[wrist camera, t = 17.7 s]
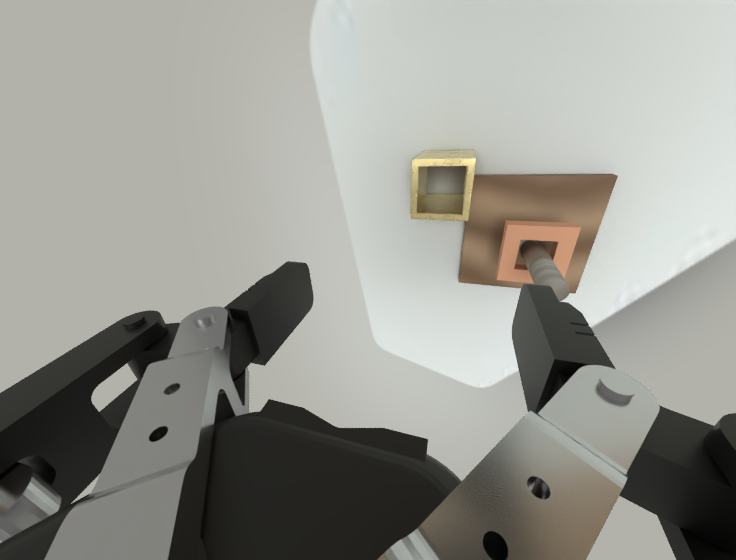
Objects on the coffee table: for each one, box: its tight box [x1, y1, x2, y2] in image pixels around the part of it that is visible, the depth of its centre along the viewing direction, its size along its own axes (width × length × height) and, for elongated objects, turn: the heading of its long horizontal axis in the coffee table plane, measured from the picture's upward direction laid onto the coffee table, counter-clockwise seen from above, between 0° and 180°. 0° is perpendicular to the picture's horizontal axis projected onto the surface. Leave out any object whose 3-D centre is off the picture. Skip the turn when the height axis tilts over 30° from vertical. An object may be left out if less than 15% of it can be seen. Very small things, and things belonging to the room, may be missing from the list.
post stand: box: [459, 174, 618, 301], centre depth 29 cm, size 14×14×14 cm
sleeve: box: [411, 150, 476, 221], centre depth 30 cm, size 6×6×9 cm
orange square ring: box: [496, 220, 581, 283], centre depth 30 cm, size 6×6×2 cm
